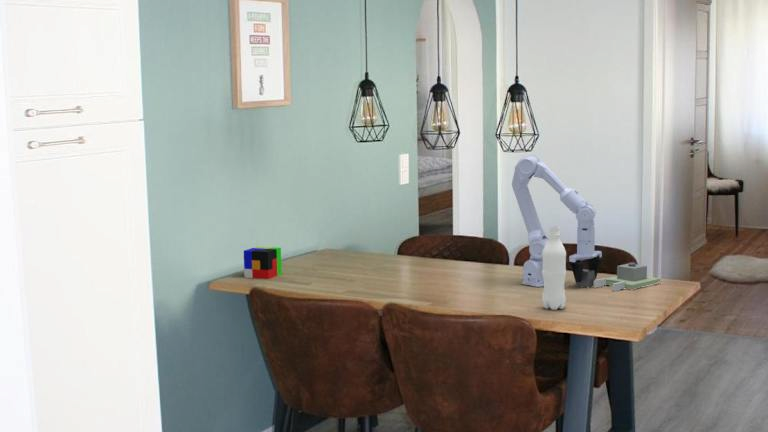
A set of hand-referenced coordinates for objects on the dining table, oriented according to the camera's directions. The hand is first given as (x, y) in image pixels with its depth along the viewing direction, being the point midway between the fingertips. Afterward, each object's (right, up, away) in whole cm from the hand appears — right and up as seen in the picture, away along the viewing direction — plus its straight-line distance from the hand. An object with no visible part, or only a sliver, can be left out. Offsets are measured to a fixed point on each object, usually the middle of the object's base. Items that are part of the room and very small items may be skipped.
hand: (585, 280), depth 323 cm
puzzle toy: (-113, -1, +29) cm, 116 cm away
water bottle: (-16, -7, -32) cm, 36 cm away
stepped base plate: (+13, -2, 0) cm, 13 cm away
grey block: (0, -2, 0) cm, 2 cm away
